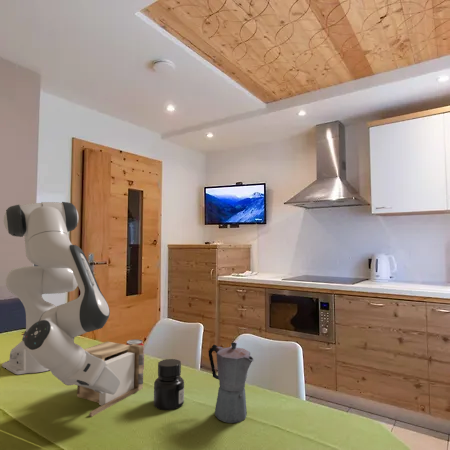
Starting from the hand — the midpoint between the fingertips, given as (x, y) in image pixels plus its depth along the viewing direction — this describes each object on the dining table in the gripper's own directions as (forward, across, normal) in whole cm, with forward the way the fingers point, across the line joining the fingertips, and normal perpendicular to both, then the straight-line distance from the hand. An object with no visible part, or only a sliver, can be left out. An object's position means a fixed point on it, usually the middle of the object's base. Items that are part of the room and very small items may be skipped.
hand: (101, 390), depth 97 cm
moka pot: (+13, +35, +6) cm, 38 cm away
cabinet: (+7, -4, 0) cm, 8 cm away
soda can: (+20, -9, +13) cm, 26 cm away
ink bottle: (+11, +16, +4) cm, 20 cm away
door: (+8, 0, +1) cm, 8 cm away
